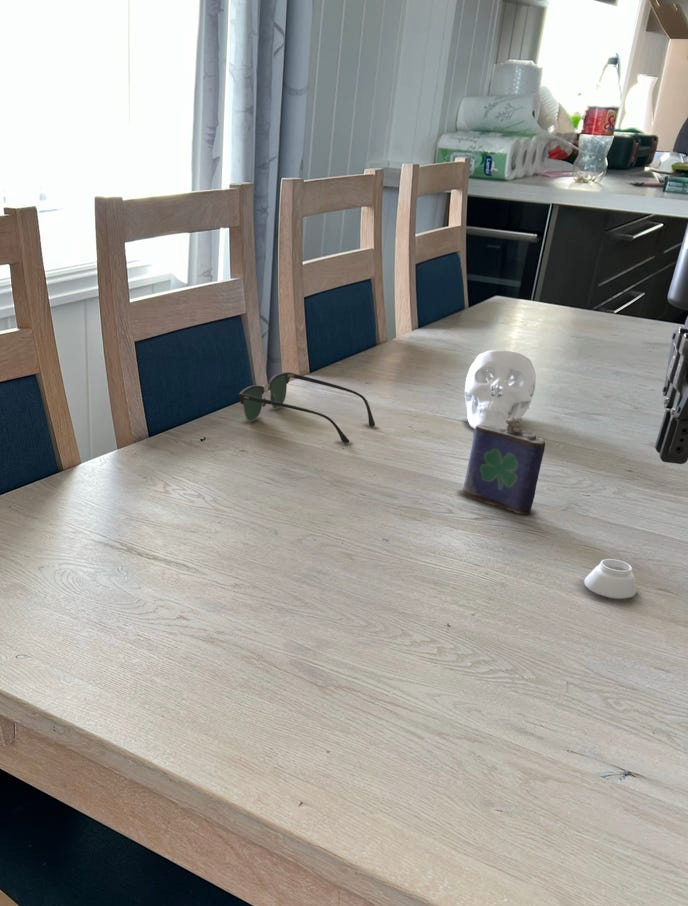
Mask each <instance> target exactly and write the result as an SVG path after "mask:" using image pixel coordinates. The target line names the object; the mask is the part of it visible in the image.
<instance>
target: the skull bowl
mask: <svg viewBox="0 0 688 906" xmlns="http://www.w3.org/2000/svg"><path fill="white" fill-rule="evenodd" d="M536 372H537V371H536V369H535V368H534V365H533V363H532V360H531V359H530V358H529V357H528V356H526V355H524V354H522V353H520V352H518V351H512V350H506V349H505V350H504V349H492V350H488V351H484V352H482V353H480V354H479V355H477V356H476V358H475V359H474V361H473V363H471V365H470V367H469V370H468V372H467V375H466V379H465V386H464V400H465V408H466V413H467V414H466V415H467V422H468V424H469V426H470V427H471V428H472V429H474V430H475V427H476V426H477V425H479V424H486V425H493V426H496V427H500V428H504V429H507V425H508V424H507V423H506V419H508V420H510V419H512V418H513V417H514V418H515V419H516V418H522V417H523V416H524V415H525V414H526V413H527V411H528V410H529V409H530V406H531V403H532V401H533V397H534V393H535V390H536V383H537V382H536V381H537V373H536Z"/></svg>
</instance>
